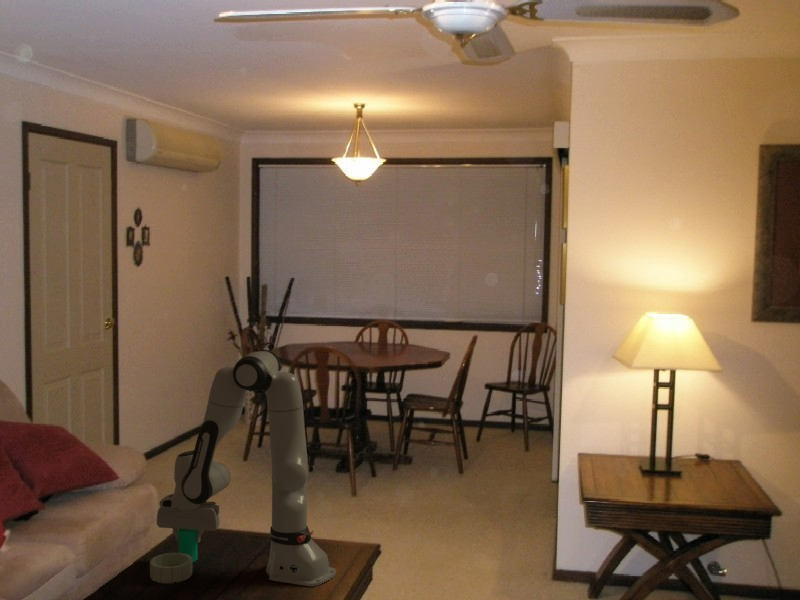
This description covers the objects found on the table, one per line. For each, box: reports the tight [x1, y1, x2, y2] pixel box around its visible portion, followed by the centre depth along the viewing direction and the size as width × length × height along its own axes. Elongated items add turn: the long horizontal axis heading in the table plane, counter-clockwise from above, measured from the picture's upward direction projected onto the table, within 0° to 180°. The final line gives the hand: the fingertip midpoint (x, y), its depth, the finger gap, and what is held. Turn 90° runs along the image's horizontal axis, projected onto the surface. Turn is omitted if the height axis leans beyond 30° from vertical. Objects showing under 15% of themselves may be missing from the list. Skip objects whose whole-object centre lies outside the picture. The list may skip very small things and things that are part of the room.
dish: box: [149, 552, 193, 584], centre depth 265 cm, size 12×12×5 cm
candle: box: [178, 529, 199, 563], centre depth 277 cm, size 6×6×12 cm
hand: (188, 541), depth 277 cm, fingers closed on candle, 5 cm apart
